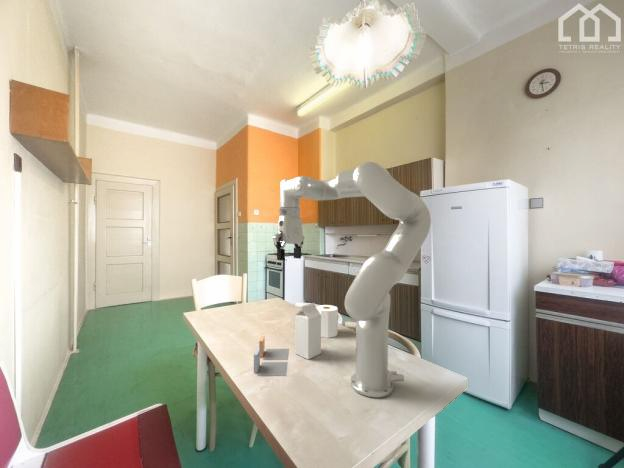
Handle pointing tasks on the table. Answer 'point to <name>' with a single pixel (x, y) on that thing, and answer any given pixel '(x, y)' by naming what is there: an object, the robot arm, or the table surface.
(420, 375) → the table surface
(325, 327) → the toilet paper
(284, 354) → the tag station
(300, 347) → the milk carton
